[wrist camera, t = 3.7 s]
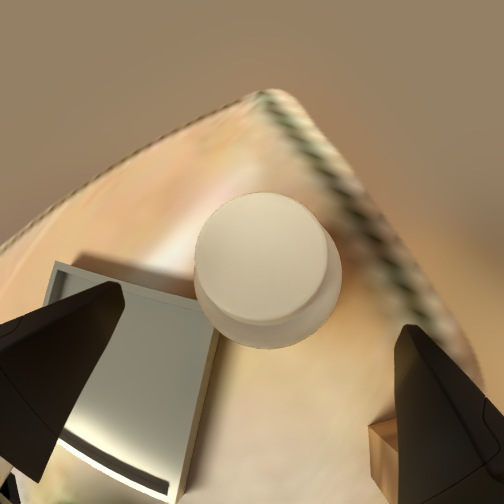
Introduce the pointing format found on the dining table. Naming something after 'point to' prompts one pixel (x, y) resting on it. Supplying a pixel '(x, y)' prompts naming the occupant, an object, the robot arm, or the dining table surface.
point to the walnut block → (384, 457)
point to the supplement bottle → (266, 271)
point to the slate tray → (141, 387)
